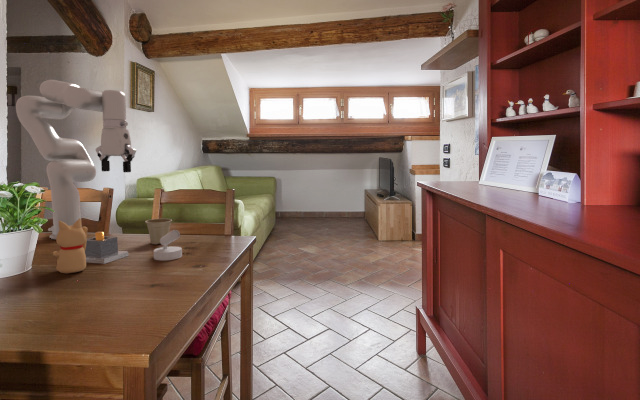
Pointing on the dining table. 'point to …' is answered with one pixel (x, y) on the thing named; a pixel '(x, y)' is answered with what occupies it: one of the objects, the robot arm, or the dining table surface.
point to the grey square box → (101, 246)
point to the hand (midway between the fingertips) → (116, 171)
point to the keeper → (109, 257)
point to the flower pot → (158, 229)
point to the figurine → (71, 247)
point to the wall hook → (165, 251)
